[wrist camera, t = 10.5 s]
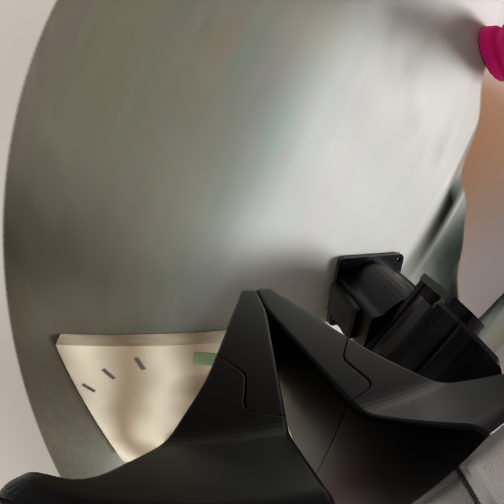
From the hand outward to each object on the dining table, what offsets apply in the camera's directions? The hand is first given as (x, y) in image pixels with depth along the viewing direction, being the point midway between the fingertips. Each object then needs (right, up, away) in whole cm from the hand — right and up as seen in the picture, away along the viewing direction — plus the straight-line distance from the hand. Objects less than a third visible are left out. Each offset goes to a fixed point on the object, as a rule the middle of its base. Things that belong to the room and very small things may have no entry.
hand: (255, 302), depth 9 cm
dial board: (-6, -15, +19) cm, 25 cm away
